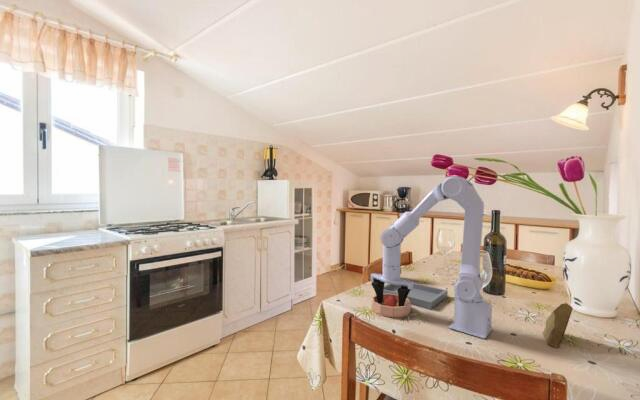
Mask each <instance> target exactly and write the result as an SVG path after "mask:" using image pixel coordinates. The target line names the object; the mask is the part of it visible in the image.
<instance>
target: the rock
mask: <svg viewBox="0 0 640 400" xmlns="http://www.w3.org/2000/svg"><path fill="white" fill-rule="evenodd" d="M573 309H574V308H573V307H572V306H571V305H570V304H568V303H567V302H564V303H561V304H560V305H558V306H556V308H555V309H553V311H552V312H551V314H550V315H548V318H547V319H546V321H545V326H544V327H545V328H544V331H543V332H542V334H543V337H544V338H545V340H546V341H547V342H546V343H547V345H549V346H552V347H553V348H557V349H559V348H560V346H561V343H562V342H563V340H564V336H565V333H566V330H567V327H568V324H569V321H570V318H571V315H572V313H573V312H572V311H573Z"/></svg>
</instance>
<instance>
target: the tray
mask: <svg viewBox="0 0 640 400" xmlns="http://www.w3.org/2000/svg"><path fill="white" fill-rule="evenodd" d="M398 288H401V286H397V285H393V284H389V283H386V284H384V290H383V294H387V293H389V294H396V295H398V291H397V289H398ZM448 295H449V294H448V290H447V289H443V288H439V287H435V286H429V285H426V284H422V283H421V284H420V283H416V282H413V288H412V289H411V290H410V292H409V294H408V296H407V298H408V299H409V301H410V303H411V306H412V305H413V306H415V307H419V308H422V309H427V310H430V311H431V310H433V309H434V308H435V307H437V306H438V305H439V304H440V303H441V302H443V301H444V300H445V299H447V298H448Z"/></svg>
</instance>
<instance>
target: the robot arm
mask: <svg viewBox="0 0 640 400" xmlns="http://www.w3.org/2000/svg"><path fill="white" fill-rule="evenodd" d="M449 199H451V200H452V201H454V202H456V203H457V204H458V205H459V206H460V207H461V208H463V209H464V218H463V219H464V221H463V231H462V232H463V233H462V235H463V236H462V245H461V246H462V247H461V259H460V260H461V261H460V268H459V273H458V278H457V280H456V282H455V284H454V287H453V289H454V309H453V310H454V313H453V315H454V316H453V322H452V323H451V324H450V325H449V326H448V328H449V329H450V330H454V331H458V332H461V333H463V334H464V333H465V334H468V335H471V336H473V337H474V336H475V337H477V338H481V339H487V337H488V335H489V334H490V332H491V331H492V330H493V328H492V318H493V305H492V302H488V301H485V300H484V299H483V296H482V293H480V291H481V290H482V288H483V287H484V286H483V285H484V281H483V278H482V277H481V267H480V262H481V252H482V251H481V249H482V239H483V237H482V235H483V224H484V213H485V212H484V211H485V202H484V200H483V199H482V197H481V196H480V194H479V193H478V191H477V190H476V188H475V187H474V184H473V183H472V182H470V181H469V180H467V178H465V177H463V176H456V175H450V176H448V177H446V178H444V180H443V181H442V182H440V183H438V184H436V186H434V188H432V189H431V191H429V192H428V194H427V195H426V196H425V197H424V198H423V199H422V200H421V201H420V202H419V203H418V204H417V206H415V207H414V208H413V209H412V210H411V211H405V212H401V213H400V214H399V215H398V217H399V218H397V219H396V220H395V222H393V223H390V224H389V228H386V229H384V230H383V231H382V232H381V234H380V243H382V269H381V270H382V274H381V273H375V272H374V273H373V272H372V273H370V280H371V281H372V282H371V286H372V288H373V290H374V293H375V295H376V296H377V300H378V303H382V302H383V290H384V286H385V285H386V284H393V285H397V286H401V288H398V289H397V291H398V296H399V306H404V304H405V301H406V298H407V296H408V294H409V292H410V290H411V289H412V288H413V283H414V281H412V280H411V281H410V280H408V279H405V278H403V277H401V274H400V263H401V258H402V257H401V255H402V254H401V245H402V243H403V242H404V239H406V237H407V236H408V235H410V233H412V232H413V231H414V230H415V229H416V228H417V227H419V225H420V219H421V218H422V216H424V215H425V214H427V212H429V211H430V210H431V209H432V208H433V207H434V206H436V205H437V204H438V203H439V202H442V201H446V200H449Z"/></svg>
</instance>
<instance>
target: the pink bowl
mask: <svg viewBox="0 0 640 400" xmlns="http://www.w3.org/2000/svg"><path fill="white" fill-rule="evenodd" d="M388 295H393V296H394V297H395V298H396V300H397V304H396V306H395V307H390V306H386V304H385V297H386V296H388ZM411 306H412V304H411V303H410V301H409V299H408V298H406V301H405V304H404V306H399V296H398V295H396V294H389V293H387V294H383V302H382V303H378V300H377V296H376V294H375V295H373V296H371V310H372V312H374V313H375V314H377V315H380V316H383V317H386V318H396V319H397V318H403V317H407V316H408V315H409V314H410V311H411V310H412V309H411Z"/></svg>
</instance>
